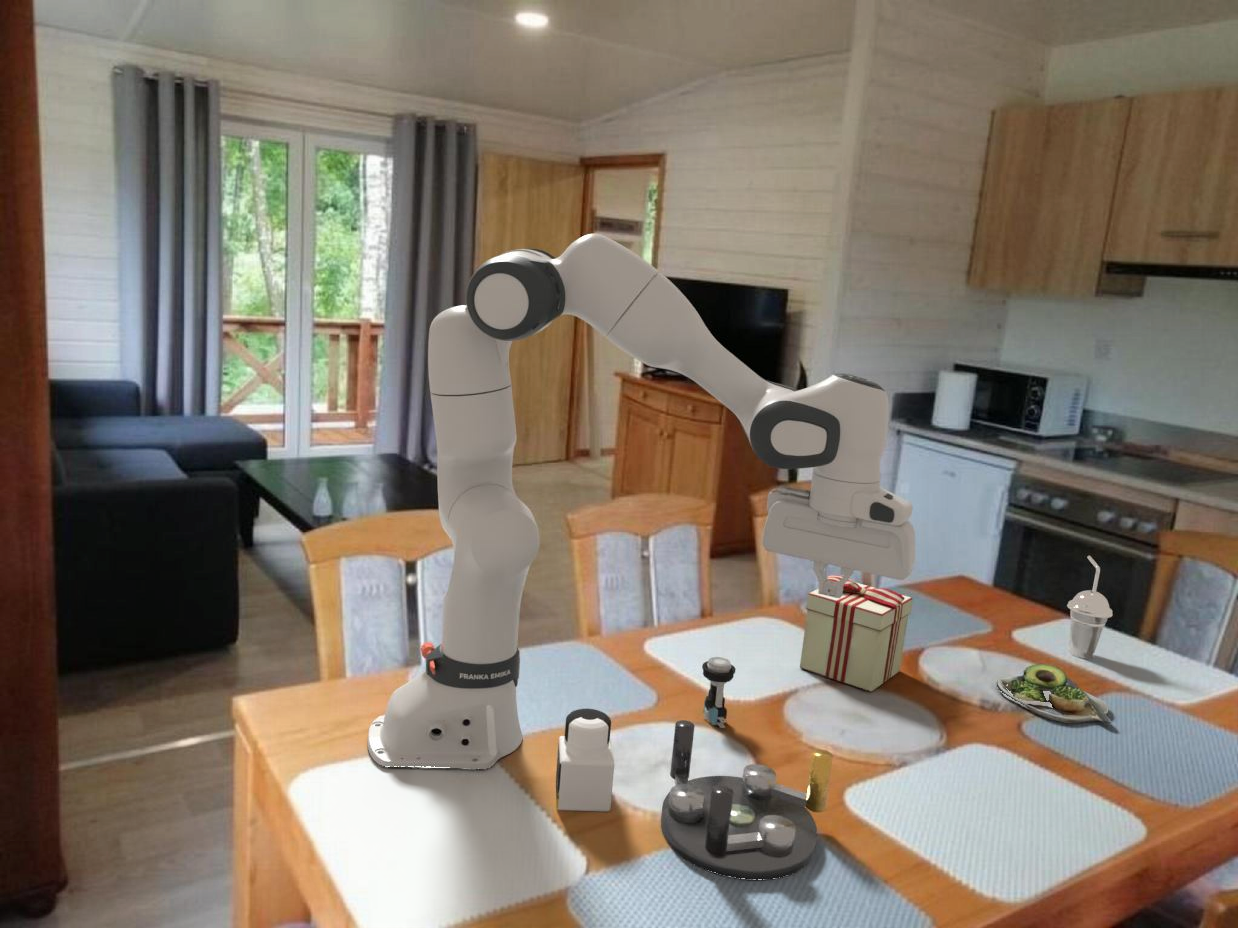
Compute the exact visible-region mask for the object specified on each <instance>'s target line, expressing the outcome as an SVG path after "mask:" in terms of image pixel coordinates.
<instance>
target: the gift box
mask: <svg viewBox="0 0 1238 928" xmlns="http://www.w3.org/2000/svg"><path fill="white" fill-rule="evenodd" d="M843 576H844V575H839V574H838V575H835V574H831V575H830V574H829V575H828V576H827V579H828V580H830V581H835V582H839V581H840V580H841V579H842V578H843ZM818 591H819V588H817V589H814V590H813V591H811V592H808V593H807V595H806V596H807V597H806V604H805V610H807V611H806V617H805V625H804V633H803V640H802V641H803V642H802V648H801V654H800V660H799V662H800V663H799V667H800V669H803V670H806V671H809V672H810V673H811V672H812V673H814V674H817V675H819V676H823V677H826V678H828V679H831V680H835V681H837V682H840V683H843V684H846V685H850V686H851V687H855V688H858V687H859V689H861V688H864V689H866V690H865V691H867V690H869V691H868V692H874V690H876V689H878V687H880V686H881V685H882V684H884V683H886V682H887V681H889V680H890V679H891V678H893V677H894V676H895V675H897V674H898V673H899V672H900V670H901V664H902V659H903V651H904V646H905V638H906V631H907V627H908V620H909V615H910V614H911V612H912V608H913V599H914V598H913V597H911V596H907V595H905V594H902V593H898V592H896V591H894V590H891V589H889V588H879V587H875V586H874V587H873V586H871V585H866V584H862V583H859V582H855V581H854V580H852V579H850V578H849V579H848V580H847V582H846V583H845V584H844V586H843V593H842V596H841V597H840V598H835V597H831V596H827V595H822V594H819V593H818ZM864 689H863V690H864Z"/></svg>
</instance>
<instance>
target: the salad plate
mask: <svg viewBox="0 0 1238 928" xmlns="http://www.w3.org/2000/svg"><path fill="white" fill-rule="evenodd" d="M1022 674H1023V675H1018V676H1008V677H1001V678H998V680H996V688H997V687H998V688H999V690H1000V691H1002V693H1004V694H1006V695H1007V696H1009V697H1011V698H1012V699H1014V700H1015V701H1018V702H1020V703H1021V704H1023V705H1025V706H1026V707H1027V708H1028V709H1029V710H1030V711H1029V710H1028V711H1029V712H1031V711H1032V713H1033V712H1034V714H1036V715H1039V716H1040V717H1043V718H1045V719H1048V720H1051V721H1054V720H1055V722H1060V723H1064V722H1066V723H1065V724H1082V722H1083V723H1089V722H1090V723H1091V722H1095V721H1101V722H1103V723H1106V724H1111V723H1112V719H1111V718H1110V717H1109V716H1107V714H1108V712H1109V705H1108V704H1107V702H1106V701H1104V700H1102V699H1100V698H1098V697H1095V696H1094V695H1092V694H1090V693H1088V692H1086V691H1085V690H1083V689H1082V688H1080V687H1079V686H1078V685H1077V683H1076V682H1075V681H1074V680H1072V679H1071V678H1069V677H1067V674H1066V673H1065V672H1064V671H1063V670H1062V669H1060V668H1059V667H1058V666H1055V665H1051V664H1046V663H1041V664H1040V663H1038V664H1033V665H1029V666H1027V667H1026V668H1025V669H1024V670H1023V673H1022ZM1007 684H1008V686H1006V685H1007ZM1006 688H1007V689H1008V690H1009V691H1011V693H1012V694H1013V696H1012V695H1011V694H1010V693H1009V692H1008V690H1007V689H1006ZM999 690H998V691H999ZM1043 691H1050V692H1051V694H1049V700H1048V701H1047V700H1046V698H1045V696H1044V693H1043ZM1016 698H1018V699H1022V700H1026V701H1040V702H1050V703H1051V704H1052V707H1053V709H1052V710H1055V711H1057V712H1058V713H1062V714H1063V715H1059V714H1056V713H1053V712H1049V711H1044V710H1041V709H1038V708H1036V707H1034V706H1033V705H1028V704H1025V703H1023V702H1022V701H1020V700H1018V699H1016ZM1064 714H1065V715H1064Z"/></svg>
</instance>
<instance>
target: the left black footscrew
mask: <svg viewBox="0 0 1238 928" xmlns="http://www.w3.org/2000/svg"><path fill="white" fill-rule="evenodd" d="M694 733H695V724H694V723H693V722H692V721H689V720H683V719H681V720H677V721H676V722H675V725H674V734H673V746H672V754H671V763H670V771H669V772H670V773H669V775H670V777H671V778H672V779H673V780H674V786H672V787H671V789H670V790H669V792H670V799H669V809H668V812H669V815H670V816H671V817H672V818H673V819H675V820H677V821H680V822H684V823H693V822H697V821H699V820H700V819H701V818H702V813H703V804H704V792H703V791H702V790H701V789H700V788H698V787H696V786H694V785H690V784H689V779H690V771H691V763H692V754H693V753H692V752H693V745H694V744H693V743H694V735H695V734H694Z"/></svg>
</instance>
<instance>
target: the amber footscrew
mask: <svg viewBox="0 0 1238 928" xmlns="http://www.w3.org/2000/svg"><path fill="white" fill-rule="evenodd" d="M832 763H833V754H832V753H831V752H830V751H828V750H825V749H822V748H821V749H820V748H819V749H814V750H813V751H812V753H811V760H810V766H809V775H808V783H807V789H806V792H804V791H800V790H798V789H794V788H791V787H788V786H785V785H783V784H779V783H776V781H777V773H776V771H775V770H773V768H771V767H769V766H768V765H765V764H764V765H763V764H757V763H753V764H748V765H746V766H744V768H743V773H742V778H743V779H742V787H741V790H742V792H743V794H744V795H746V796H747V797H749V798H751V799H755V800H768V799H771V798H772V797H773V796H775V797H778V798H781V799H784V800H787V801H790V802H793V803H796V804H798V805H801V806H804V807H805V808H806V809H807V810H808V811H809V812H810V811H811V812H813V813H822V812H824V811H825V810H826V805H827V800H828V798H827V797H828V792H829V785H830V777H831V770H832Z"/></svg>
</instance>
